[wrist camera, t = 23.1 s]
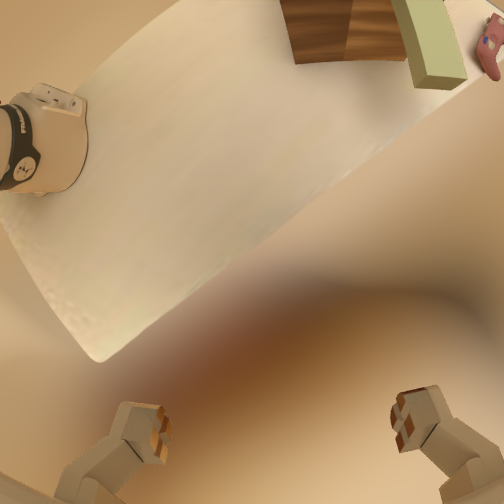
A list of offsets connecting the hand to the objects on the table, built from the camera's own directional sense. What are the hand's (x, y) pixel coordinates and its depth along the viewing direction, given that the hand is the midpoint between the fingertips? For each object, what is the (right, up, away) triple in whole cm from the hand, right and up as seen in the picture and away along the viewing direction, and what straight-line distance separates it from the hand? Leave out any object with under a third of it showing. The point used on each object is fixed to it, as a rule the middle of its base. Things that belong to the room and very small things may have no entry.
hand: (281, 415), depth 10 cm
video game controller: (+32, +34, +17) cm, 50 cm away
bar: (+10, +28, +5) cm, 31 cm away
